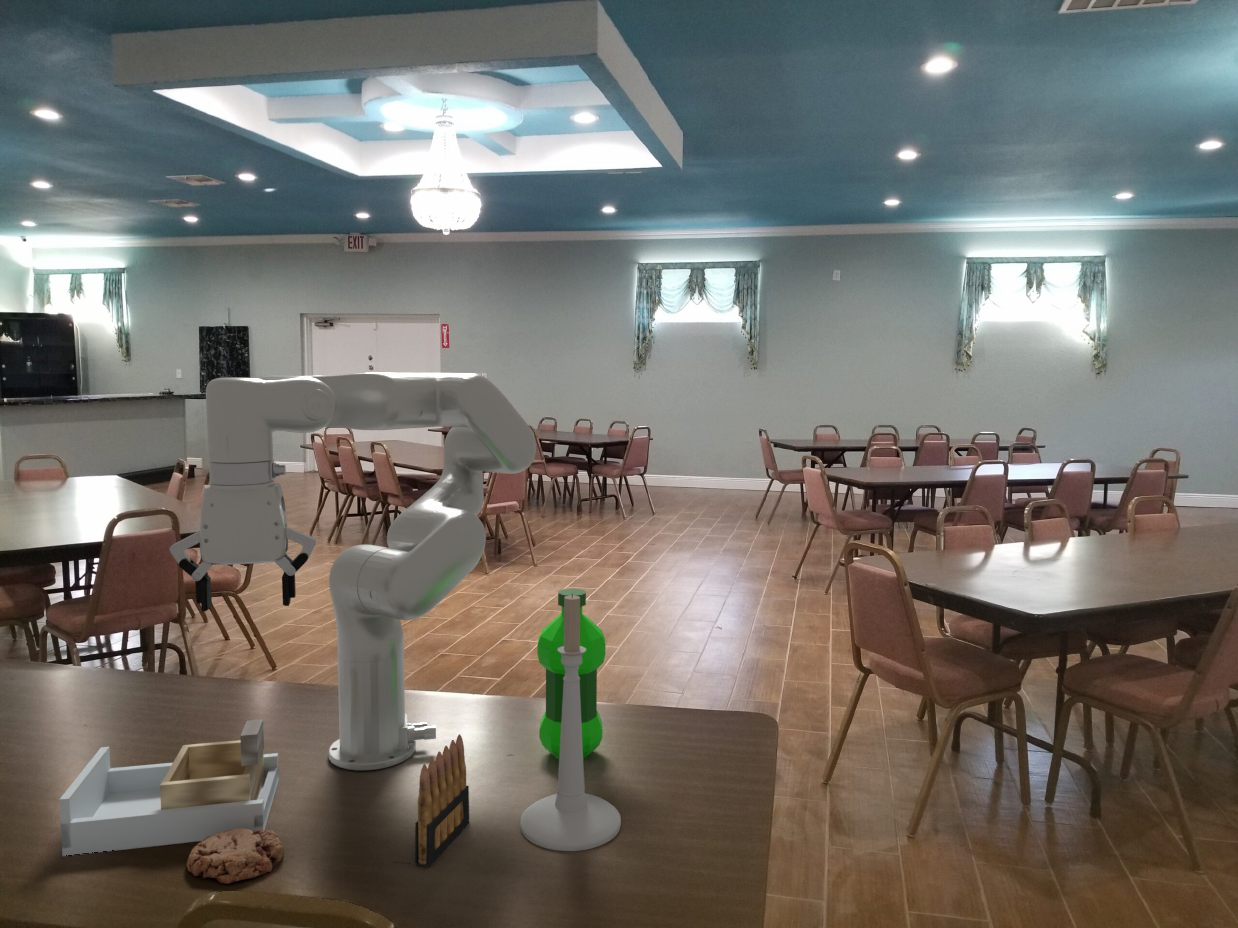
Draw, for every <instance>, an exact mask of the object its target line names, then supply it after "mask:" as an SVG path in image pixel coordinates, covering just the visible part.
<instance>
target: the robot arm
mask: <svg viewBox="0 0 1238 928" xmlns="http://www.w3.org/2000/svg"><path fill="white" fill-rule="evenodd" d="M205 403H206V404H205V406H206V428H207V429H206V430H207V452H208V467H209V468H208V471H209V472H208V473H209V474H208V475H209V484H208V485H205V486H204V490H203V494H202V500H201V510H200V522H199V523H200V528H199V530H198V531H197V532H195V533H192V534H191V535H189V536H186V537H185V538H183V539H181V540H179V541H177V542H175V543H173V544H172V545H171V546H170V547H169V552H170V554H171V555H172V556H173V558H174V560H175V561H176V562H177V564H178V567H179V568H180V569H181V570H183V571H184V572H185V573H186V574H187V575H189V576H190V577H191V579H192V580H193V581H195V582H194V583H195V602H196V605H198V604H199V605H200V609H201V612H202V613H203V612H207V611H209V610H210V608H211V607H212V604H213V601H212V599H213V597H212V581H211V580H212V578H211V576H210V575H209V573H208V572H209V570H210V569H211V568H212V567H213V566H227V565H230V566H231V565H233V566H234V565H245V564H246V565H247V564H264V563H265V564H267V563H275V564H276V565H277V566H278V567H279V568H281V570H282V571H283V574H282V576H281V587H282V588H281V590H282V605H283V606H284V607H289V606H290V604H291V601H292V600H291V599H292V598H293V599H295V598H296V597H297V595H296V594H297V593H296V592H297V591H296V589H297V588H296V573H297V572H298V571H299V569H301V568H302V567H303V565H304V564H306V563H307V562H308V560H309V558H310V556H311V554H312V552H313V550H314V548H315V546H316V544H317V539H316V538H315V537H313V536H310V535H308V534H306V533H303V532H301V531H299V530H297V529H294V528H292V527H290V526H288V522H287V521H288V519H287V512H286V511H287V509H286V504H285V503H286V502H285V498H284V497H285V496H284V493H283V488H282V485H281V483H280V482H279V483H278V482H275V480H276V478H277V477H280V476H286V475H287V474H286V470H287V469H286V465H285V464H282V465H281V464H279V463H277V462H275V459H274V450H273V449H274V447H273V433H274V432H286V433H297V434H309V433H314V432H317V431H320V430H322V429H324V428H339V429H348V430H349V429H350V430H357V431H359V430H360V431H390V430H403V429H406V430H407V429H422V428H439V427H440V428H441V427H442V428H443V427H447V428H450V427H451V428H450V430H449V431H448V433H447V434H446V436H445V440H444V444H443V445H444V446H443V468H442V471H441V475H440V477H439V479H438V481H437V482H436V483H435V484H434V485H433V486H432V487H431V488H430V489H429V490H427V491H426V492H425V493H423V495H421V496H420V497H419V498H417V500H415V501H414V502H413V503H412V504H411V505H409V506H408V507H407V508H405V509H404V510H403V511H402V512H401V513H400V514H399V515H398V516H397V517H396V518H395V519H394V520H393V522H391V524H390V525H389V528H388V531H387V534H386V544H387V546H388V547H385V546H379V545H375V544H358V545H357V544H356V545H353V546H350V547H348V548H346V549H344V550H343V551H341V553H339V554H338V556H336V558H335V559H334V561H333V562H332V565H331V567H330V571H329V577H328V580H329V581H328V582H329V584H328V585H329V592H330V598H331V603H332V606H333V611H334V616H335V624H336V625H335V626H336V636H337V637H336V638H337V639H336V640H337V641H336V642H337V679H338V680H337V682H338V683H337V685H338V689H337V690H338V730H339V731H338V733H339V734H338V735H339V738H338V739H337V740H335V741H334V742H333V743H331V745H330V746H329V748H328V759H329V761H330V763H331V764H333V765H334V766H336V767H338V768H341V769H345V770H348V771H349V770H352V771H375V770H381V769H387V768H390V767H393V766H396V765H398V764H401V763H403V762H404V761H407V760H408V759H410V758H411V757H412V756H413V755H414V753H415V751H416V749H417V748H416V747H417V744H416V741H418V740H419V741H421V740H424V741H427V740H436V738H437V730H436V727H437V726H436V725H428V721H426V722H425V721H424V722H423V721H421V722H415V723H412V721H408V714H407V713H406V705H405V704H406V703H405V701H406V699H405V696H406V695H405V691H406V690H405V686H406V685H405V636H404V629H403V624H402V621H412V620H417V619H420V618H421V617H422V618H423V616H425V615H426V614H428V613H429V612H430V611H432V610H433V609H435V607H436V606H438V604H440V602H442V601H443V600H444V599H445V598H446V597H447V596H448V595H449V594H450V593H451V592H452V591H453V590H454V589H455V588H456V587H457V586H458V585H459V584H460V583H462V581H463V580H464V579H465V578H466V577H468V575H469V574H471V572H472V571H473V570H474V569H475V568H476V566H477V565H478V564H479V562H480V560H481V558H482V556H483V554H484V551H485V547H486V542H487V535H486V534H487V533H486V529H485V526H484V524H483V522H482V521H481V519H480V518H479V517H478V516H479V514H480V513H481V511H482V509H483V506H484V501H485V500H484V499H485V498H484V497H485V496H484V479H483V478H484V477H483V475H484V473H483V472H486V473H496V474H505V475H506V474H507V475H509V474H510V475H511V474H512V475H513V474H515V475H516V474H520V473H522V472H524V471H526V470H527V469H528V468H529V467H531V465H532V463H533V462H534V460H535V457H536V453H537V441H536V437H535V435H534V433H533V430H532V428H531V427H530V426H529V424H528V422H526V421H525V419H524V418H523V417H522V415H521V414H520V413H519V412H518V411H517V409H516V408H515V407H514V406H513V404H512V403H511V402H510V401H509V399H508V398H507V397H506V396H505V395H504V393H503V392H502V390H500V389H499V388H498V387H497V386H496V384H494V383H493V382H492V381H491V380H489V379H488V378H487V377H486V376H483V375H481V374H479V373H476V372H475V373H473V372H389V371H388V372H387V371H386V372H382V371H381V372H380V371H379V372H359V373H349V374H348V373H347V374H338V375H337V374H334V375H263V376H259V377H217V378H214V379H211V380H210V381H209V382H208V383H207V385H206V388H205ZM289 540H290V541H292V542H294V543H297V544H300V545H301V547H302V548H301V550H300V553H299V554H298V555H297V556H295V558H294V559H292V558H291V557H290V555H289V554H287V553H286V552H288V551H289ZM198 544H199V552H200V554H199V555H200V558H201V561H202V562H201V563H200V564H198V563H197V562H196V561H194V559H192V558H191V557H189V555H188V552H187V550H188V549H189V548H192V547H194V546H195V545H198Z"/></svg>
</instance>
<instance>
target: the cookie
mask: <svg viewBox="0 0 1238 928" xmlns="http://www.w3.org/2000/svg"><path fill="white" fill-rule="evenodd" d="M284 854H285V846H284V844H283V842H282V841H281V840H280V838H279V837H278V834H277V833H276V832H275V831H274V830H269V829H265V830H264V829H259V830H258V831H256V832H253V831H252V830H249V829H232V830H227V831H223V832H218V833H216V834H213V835H211V836H208V837H206V838H205V839H204V840H202V841H199V842H198V843H197V844H196V845H195V846H194V847H193V848H192V849H191V851H190V853H189V855H188V858H187V861H186V868H187V871H188V872H190V873H191V874H193V876H195V877H198V876H199V877H202V879H206V878H212V879H214V878H215V879H216V880H217V881H218V882H219V883H220V884H231V883H234V882H239V881H242V880H247V879H252V878H257V877H259V876H262V875H265V874H266V873H268V872H270V873H271V872H272V871H273V870H272V869H273V867H275V866H276V865H278V864H279V863H280V862H281V861H282V859H283V858H284Z"/></svg>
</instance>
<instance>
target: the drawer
mask: <svg viewBox="0 0 1238 928" xmlns="http://www.w3.org/2000/svg"><path fill="white" fill-rule="evenodd" d="M264 740H265V733H264V719H262V718H261V719H250V720H249V719H248V720H246V722H245V725H244V726H243V728H242V731H241V734H240V738H239V739H238V740H229V741H227V740H226V741H215V742H205V743H204V742H203V743H195V744H194V743H193V744H183V745H182V747H181V748H180V750H179V752H178V754H177V755H176V757H175V758H174V761H173V762H172V763H173V764H172V765H171V767H170V769H169V771H168V772H167V774H166V776H165V778H164V779H163V781H162V783H161V784H160V798H161V810H163V809H173V808H183V807H193V806H202V805H212V804H222V803H231V802H241V801H251V800H257V799H258V796H259V793H260V790H261V787H262V784H263V781H264V754H265V752H264V749H265V741H264Z"/></svg>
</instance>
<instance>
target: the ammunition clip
mask: <svg viewBox="0 0 1238 928" xmlns="http://www.w3.org/2000/svg"><path fill="white" fill-rule="evenodd" d="M465 756H466V755H465V746H464V741H463V737H462V735H461V734H458V735H457V737H456V740H454V739H452V740H451V742H450V743H449V747H448V745H445V746H444V748H443V750H442V753H441V751H438V752H437V754H436V757H435V760H434V757H431V758H430V759H429V763H428V765H427V764H425V763H424V764H423V765H422V767H421V770H420V774H419V775H420V776H419V783H418V784H419V788H418V798H417V821H416V822H415V825H414V866H417V867H422V868H427V869H430V868H431V867H432V865H433V864H434V863H435V862H436V861H437V860H438V859H439V858H440V857H441V856H442V854H443V853H444V852H445V851H446V850H447V849H448V848H449V847H450V845H452V844H453V842H454V841H455V840H456V839H457V838H458V837H459V836H460V835H461V834H462V832H464V830H465V829H466V828H467V827H468V826H469V825H470V795H469V794H470V791H469V789H470V786H469V785H467V766H466V759H465V758H466V757H465ZM427 766H428V767H427Z"/></svg>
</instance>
